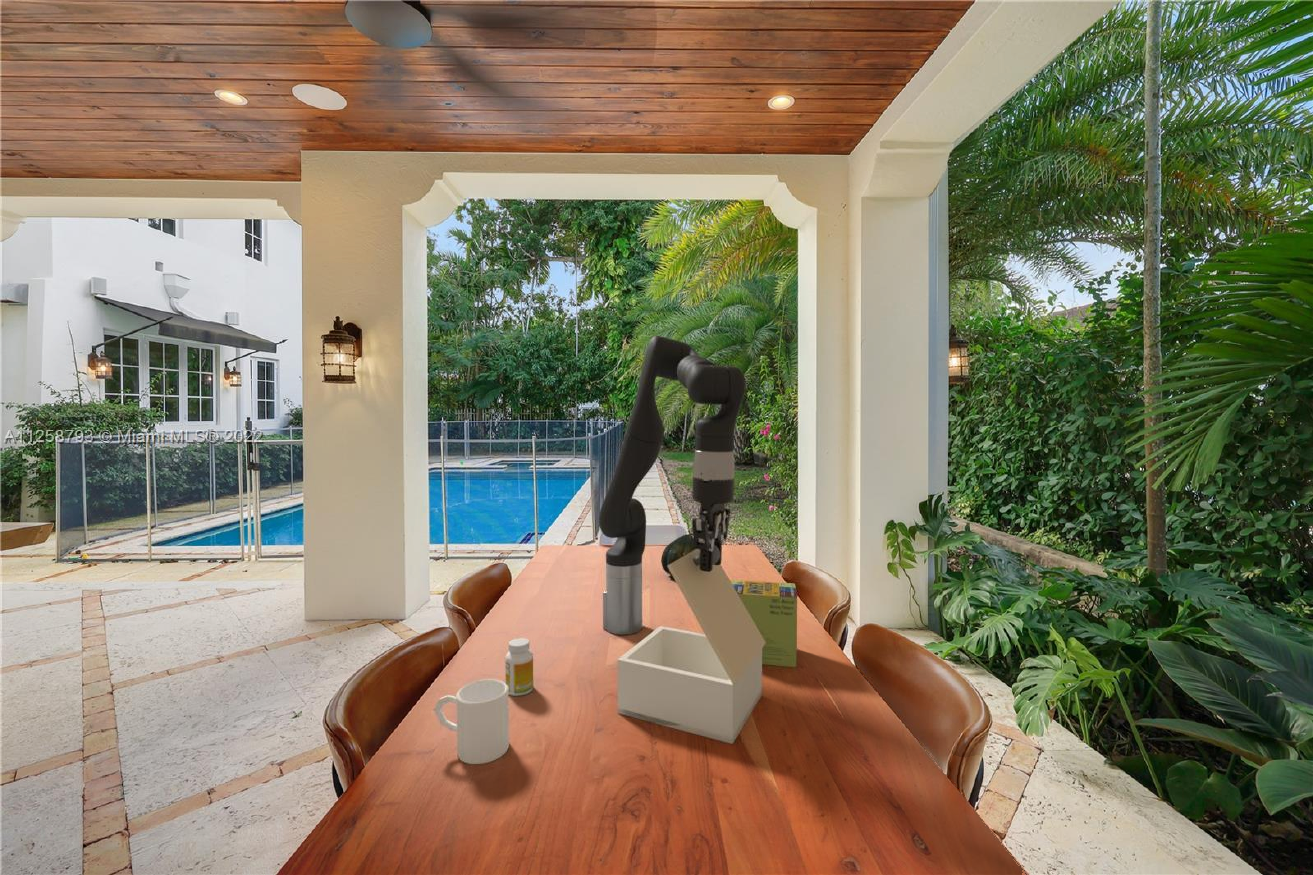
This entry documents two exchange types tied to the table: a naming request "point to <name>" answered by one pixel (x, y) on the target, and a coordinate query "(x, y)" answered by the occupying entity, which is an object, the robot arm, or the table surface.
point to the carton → (686, 685)
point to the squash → (677, 551)
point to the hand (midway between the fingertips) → (710, 567)
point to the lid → (719, 612)
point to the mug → (479, 720)
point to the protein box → (773, 618)
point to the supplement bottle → (519, 667)
